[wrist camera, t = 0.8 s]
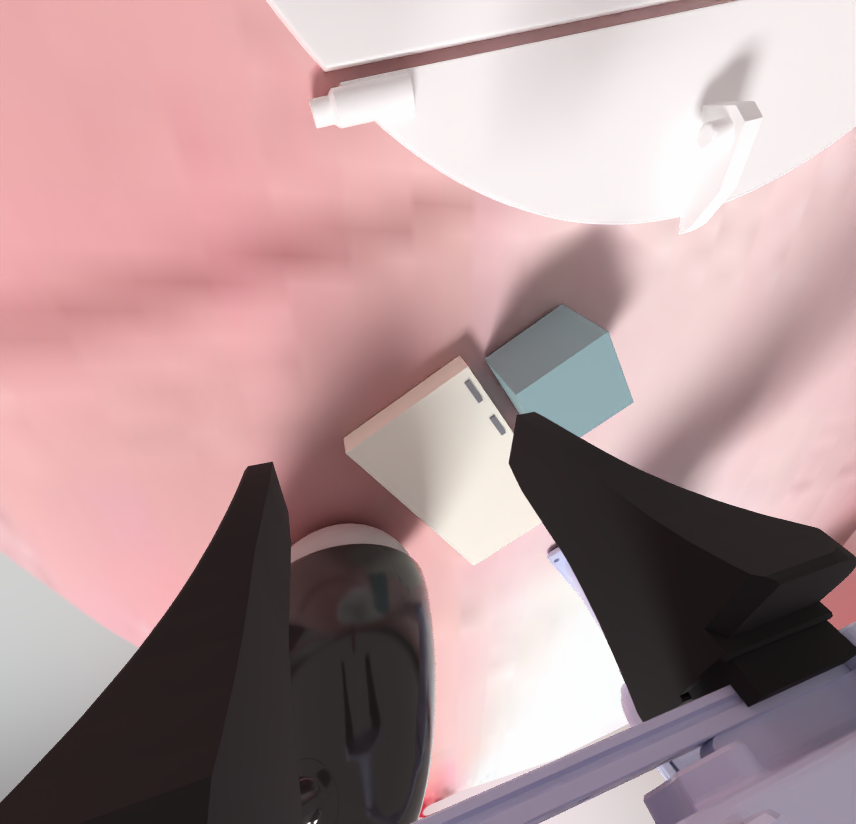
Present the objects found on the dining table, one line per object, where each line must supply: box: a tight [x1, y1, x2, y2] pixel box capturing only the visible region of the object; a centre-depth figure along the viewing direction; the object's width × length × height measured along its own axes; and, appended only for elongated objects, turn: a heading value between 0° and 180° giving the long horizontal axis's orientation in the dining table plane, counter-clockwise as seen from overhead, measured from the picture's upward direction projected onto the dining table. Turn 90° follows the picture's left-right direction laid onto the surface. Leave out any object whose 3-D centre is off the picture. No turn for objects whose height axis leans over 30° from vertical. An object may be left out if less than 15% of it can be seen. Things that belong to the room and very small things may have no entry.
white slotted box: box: [344, 355, 542, 565], centre depth 26 cm, size 15×8×2 cm, turn 33°
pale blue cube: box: [485, 304, 633, 437], centre depth 21 cm, size 5×5×4 cm
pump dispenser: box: [289, 523, 436, 824], centre depth 22 cm, size 10×10×15 cm
